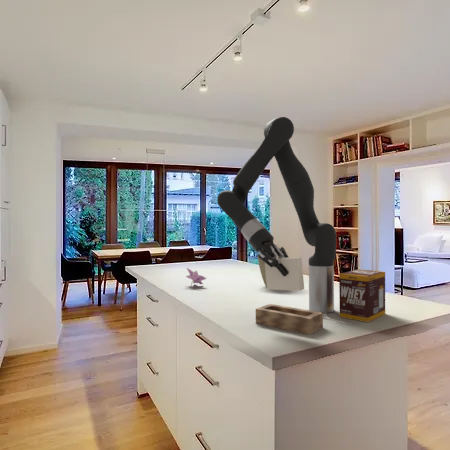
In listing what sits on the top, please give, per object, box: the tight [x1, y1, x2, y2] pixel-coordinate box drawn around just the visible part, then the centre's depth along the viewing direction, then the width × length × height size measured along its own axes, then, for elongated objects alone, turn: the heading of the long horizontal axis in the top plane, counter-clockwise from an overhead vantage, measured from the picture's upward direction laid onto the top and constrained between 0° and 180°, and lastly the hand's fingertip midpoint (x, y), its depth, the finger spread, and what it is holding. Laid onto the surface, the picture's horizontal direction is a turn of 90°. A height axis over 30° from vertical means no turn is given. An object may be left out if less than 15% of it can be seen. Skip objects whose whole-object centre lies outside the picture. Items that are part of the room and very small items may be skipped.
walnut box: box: [255, 303, 324, 335], centre depth 118 cm, size 20×9×5 cm, turn 50°
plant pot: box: [257, 256, 279, 288], centre depth 187 cm, size 15×15×16 cm
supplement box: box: [338, 268, 386, 323], centre depth 129 cm, size 10×15×16 cm
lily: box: [185, 267, 207, 286], centre depth 189 cm, size 12×12×10 cm
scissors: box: [323, 313, 354, 328], centre depth 125 cm, size 11×1×20 cm
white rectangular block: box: [265, 256, 305, 292], centre depth 116 cm, size 12×3×10 cm, turn 50°
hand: (289, 273), depth 114 cm, fingers closed on white rectangular block, 3 cm apart
